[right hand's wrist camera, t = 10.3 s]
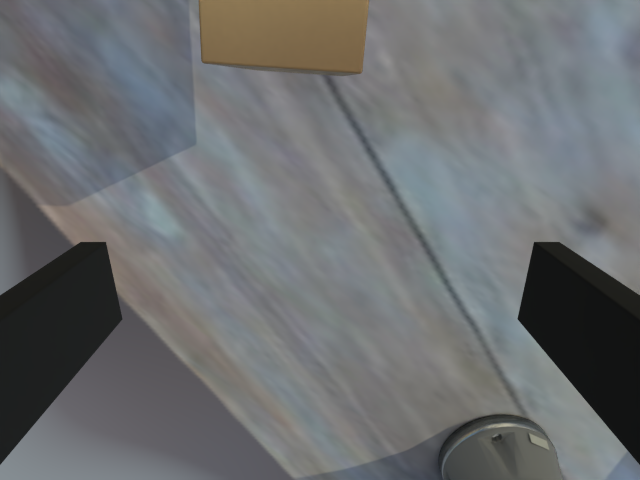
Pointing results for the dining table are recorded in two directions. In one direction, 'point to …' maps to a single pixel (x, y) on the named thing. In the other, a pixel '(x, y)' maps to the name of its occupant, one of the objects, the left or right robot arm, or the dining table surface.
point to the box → (285, 35)
